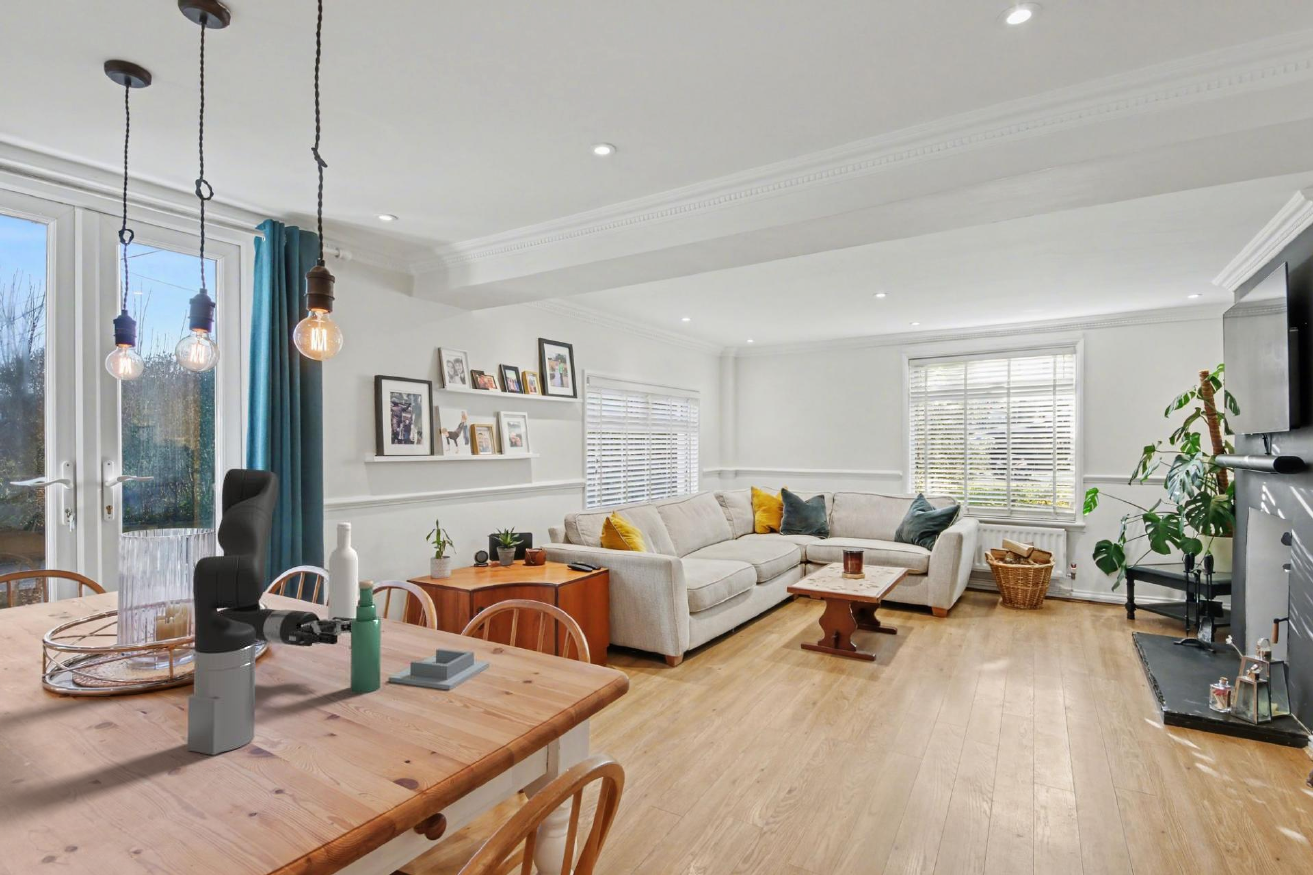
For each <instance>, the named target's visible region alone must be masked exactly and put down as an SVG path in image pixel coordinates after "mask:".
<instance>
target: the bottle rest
mask: <svg viewBox="0 0 1313 875" xmlns="http://www.w3.org/2000/svg"><path fill="white" fill-rule="evenodd" d="M489 667H490V662H485V661H478V660H475V652H474V651H466V650H457V649H449V648H447V649H446V648H437V649H435V655H431V656H429V657H427V658H425V659H423V660H411V661H410V666H408V667H407V668H405V669H402V670H400V671H399V672H396V673H394V674H391V675H390V676H388V683H397V684H403V685H411V686H420V687H425V688H435V689H441V690H449V691H450V690H451V691H452V689H454V688H456V687H457V686H460V685H461V684H462V683H464V682H466V681H468V680H469V679H471V678H473V677H474V676H476V675H479V674H480V673H481V672H483V671H485V670H486V669H487V668H489Z"/></svg>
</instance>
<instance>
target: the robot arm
mask: <svg viewBox="0 0 1313 875" xmlns="http://www.w3.org/2000/svg"><path fill="white" fill-rule="evenodd" d="M279 486H280V485H279V478H278V476H277V474H275V472H273V471H271V470H266V469H246V468H230V469H229V470H228V471H227V472H226V473H225V475H224V478H223V484H222V490H221V520H220V524H219V528H218V531H217V542H218V545H219V547H220V548H221V549H222V551H223V555H216V556H215V555H213V556H205V557H202V558H200V559H199V560H198V561H197V563H196V565H195V568H194V571H193V578H192V579H193V580H192V581H193V582H192V583H193V584H192V586H193V587H192V589H193V590H192V591H193V603H194V604H193V606H194V661H193V662H194V666H193V668H194V669H193V670H194V671H193V673H194V676H193V693H192V694H190V695H189V696H188V698H187V700H188V703H187V704H188V706H187V708H188V710H187V751H191V752H196V753H202V754H207V755H212V756H215V755H217V754H219V753H223V752H228V751H231V750H235V749H238V748H241V747H243V746H246V745H247V744H249V743H251V741H253V740H254V738H255V718H256V717H255V715H256V714H255V711H256V710H255V707H256V706H255V704H256V703H255V702H256V701H255V699H256V641H257V640H258V641H264V642H270V643H275V644H279V645H288V646H296V647H297V646H298V647H311V646H313V645H314V644H315V645H320V644H326V645H336V644H337V643H338V638H339V637H338V636H340V635H342V634H348V633H349V634H351V620H352V619H354V618H342V617H333V618H332V620H328V618H325V619H323V618H322V619H320V618H319V616H318V615H317V614H316V613H315V612H313V611H305V610H297V609H296V610H295V609H294V610H293V609H273V608H272V609H270V608H261V605H260V600H261V598H262V597H263V595H264V591H265V589H266V588H265V586H266V580H267V579H266V577H267V552H268V547H269V542H270V538H271V532H272V527H273V526H272V525H273V512H274V509H275V506H276V503H277V499H278V495H279V488H280V487H279ZM218 609H221V610H219V611H218ZM334 629H336V630H337V631H334Z"/></svg>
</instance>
